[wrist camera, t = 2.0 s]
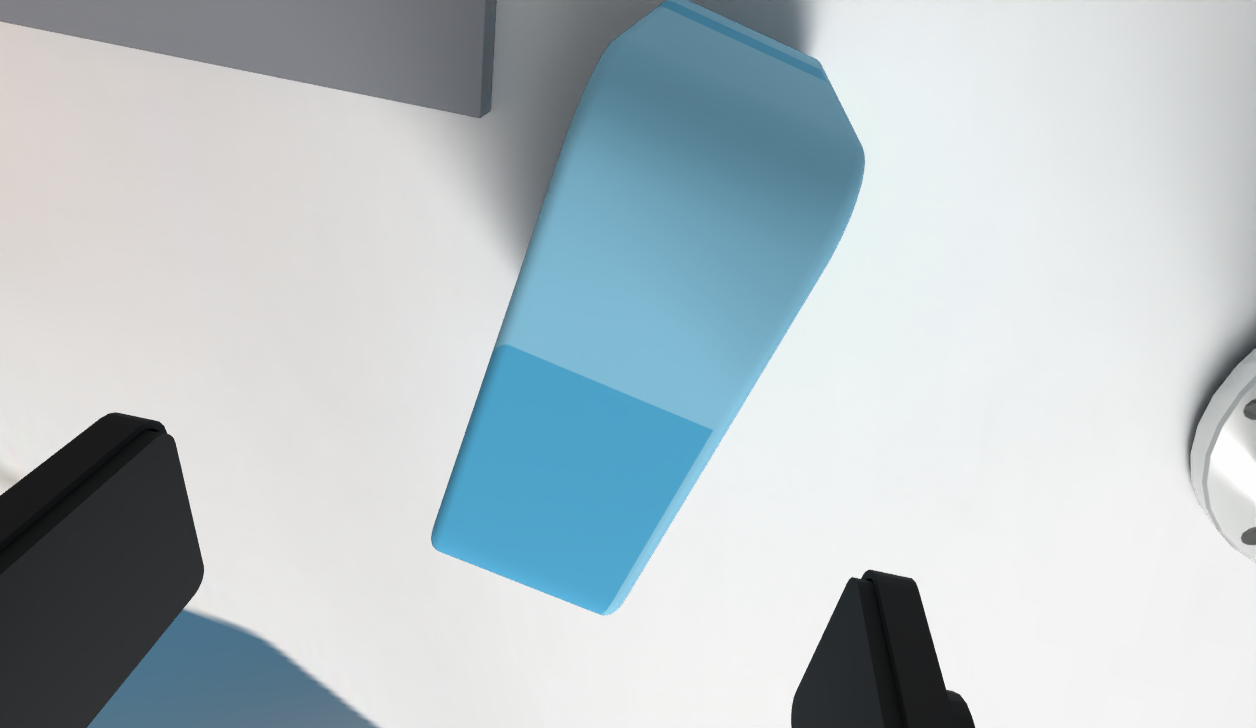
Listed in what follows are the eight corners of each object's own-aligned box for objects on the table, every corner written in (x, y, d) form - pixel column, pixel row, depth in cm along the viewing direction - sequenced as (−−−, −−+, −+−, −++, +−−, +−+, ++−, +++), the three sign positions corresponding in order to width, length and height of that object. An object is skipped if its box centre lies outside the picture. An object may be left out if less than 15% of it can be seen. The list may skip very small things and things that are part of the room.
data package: (675, -13, 20) (594, 43, 10) (821, 54, 20) (885, 175, 10) (545, 328, 26) (415, 576, 16) (658, 376, 27) (598, 648, 17)
